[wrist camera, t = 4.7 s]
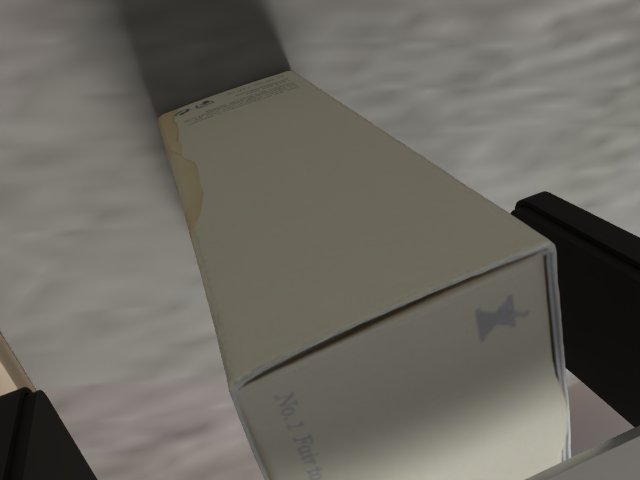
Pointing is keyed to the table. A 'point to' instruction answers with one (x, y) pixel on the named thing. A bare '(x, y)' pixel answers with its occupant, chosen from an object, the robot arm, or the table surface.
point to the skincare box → (366, 296)
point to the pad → (11, 371)
